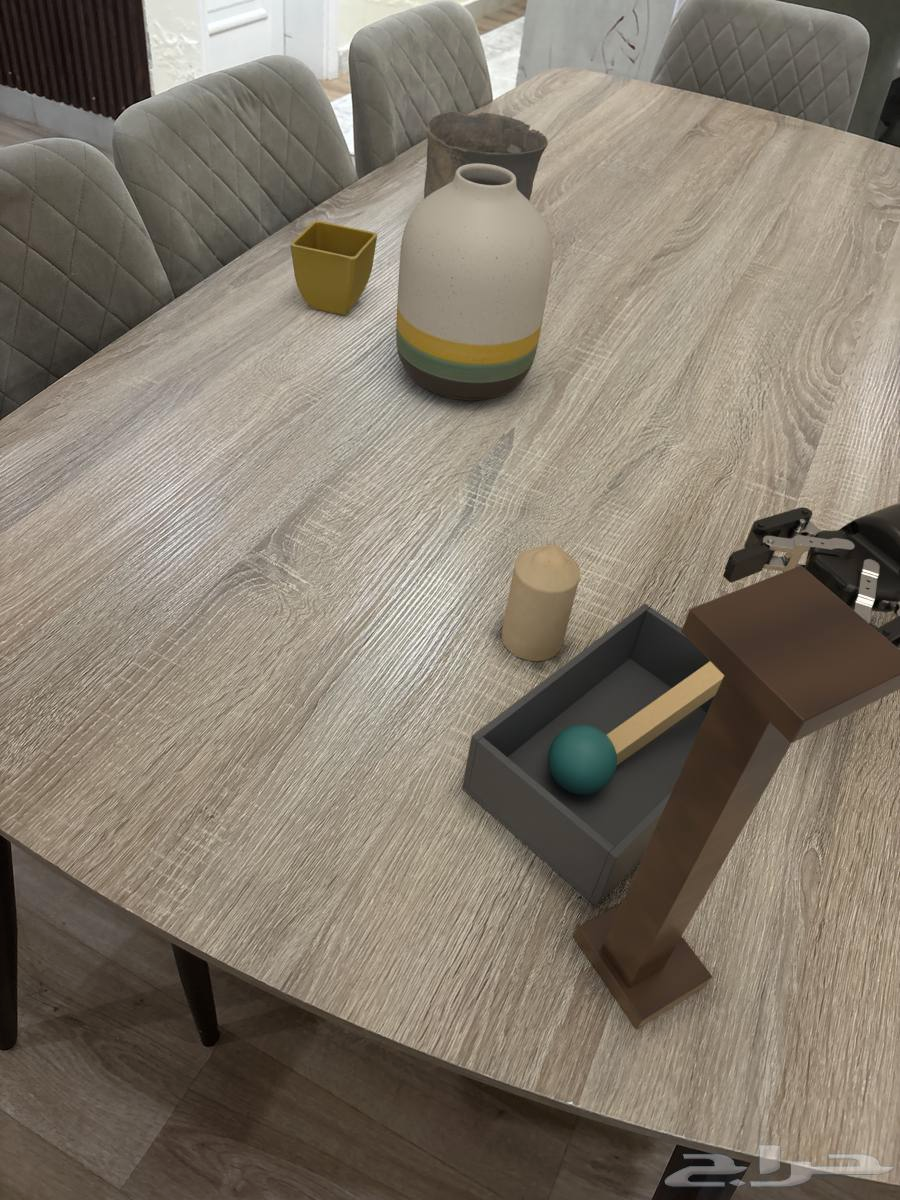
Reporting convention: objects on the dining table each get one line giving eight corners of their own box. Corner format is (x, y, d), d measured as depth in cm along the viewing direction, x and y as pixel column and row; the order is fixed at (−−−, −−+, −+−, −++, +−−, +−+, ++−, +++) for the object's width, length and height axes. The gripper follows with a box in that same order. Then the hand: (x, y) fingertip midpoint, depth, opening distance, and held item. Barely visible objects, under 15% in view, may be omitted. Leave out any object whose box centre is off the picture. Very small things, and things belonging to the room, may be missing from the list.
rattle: (752, 694, 73) (752, 660, 69) (579, 818, 71) (568, 791, 67) (707, 650, 76) (704, 615, 72) (541, 768, 74) (528, 739, 70)
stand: (706, 986, 62) (919, 664, 40) (624, 1037, 59) (804, 721, 37) (641, 899, 66) (801, 564, 44) (560, 943, 63) (689, 608, 41)
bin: (754, 746, 77) (781, 694, 73) (596, 907, 66) (616, 858, 61) (627, 655, 83) (644, 602, 79) (461, 788, 72) (471, 735, 67)
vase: (365, 364, 115) (372, 160, 98) (467, 328, 123) (490, 136, 107) (456, 431, 106) (481, 219, 90) (559, 387, 115) (599, 188, 98)
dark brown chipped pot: (541, 223, 151) (557, 123, 141) (522, 268, 138) (538, 162, 128) (434, 203, 153) (442, 103, 142) (405, 245, 140) (412, 139, 130)
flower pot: (315, 283, 129) (314, 218, 122) (375, 297, 127) (378, 232, 121) (290, 311, 122) (288, 244, 116) (353, 326, 121) (355, 258, 115)
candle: (515, 609, 86) (532, 525, 79) (571, 631, 85) (593, 548, 78) (491, 647, 83) (506, 562, 76) (549, 671, 81) (570, 587, 74)
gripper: (861, 462, 78) (718, 512, 72) (1006, 567, 70) (859, 635, 63) (828, 530, 84) (691, 583, 77) (959, 636, 75) (818, 705, 69)
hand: (767, 606), depth 70 cm, fingers open, 8 cm apart
